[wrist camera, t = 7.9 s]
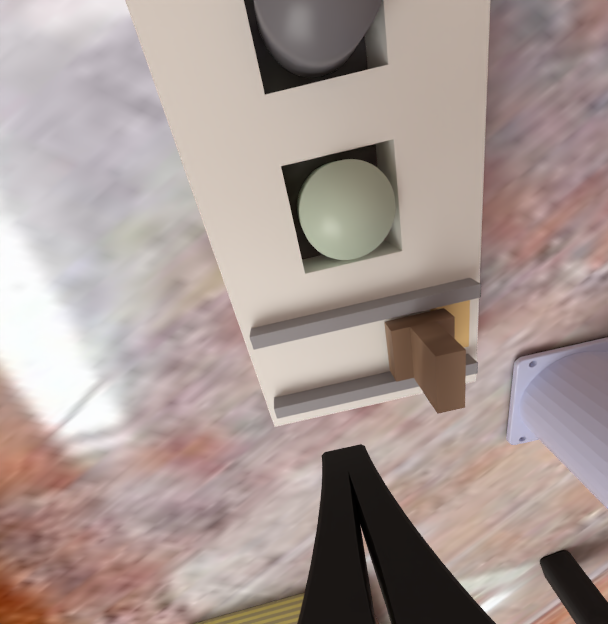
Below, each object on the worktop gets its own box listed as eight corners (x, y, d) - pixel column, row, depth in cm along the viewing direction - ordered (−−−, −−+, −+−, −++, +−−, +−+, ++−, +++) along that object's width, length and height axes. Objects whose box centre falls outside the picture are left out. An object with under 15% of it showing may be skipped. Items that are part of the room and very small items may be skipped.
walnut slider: (443, 307, 15) (488, 344, 12) (444, 357, 16) (485, 402, 13) (384, 321, 15) (413, 361, 12) (389, 370, 16) (417, 418, 13)
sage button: (373, 151, 14) (391, 148, 12) (382, 237, 16) (399, 248, 13) (288, 172, 14) (290, 172, 12) (306, 255, 16) (311, 269, 14)
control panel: (451, -161, 11) (524, -299, 7) (453, 357, 20) (485, 391, 17) (117, -76, 11) (54, -176, 8) (274, 397, 20) (274, 438, 17)
